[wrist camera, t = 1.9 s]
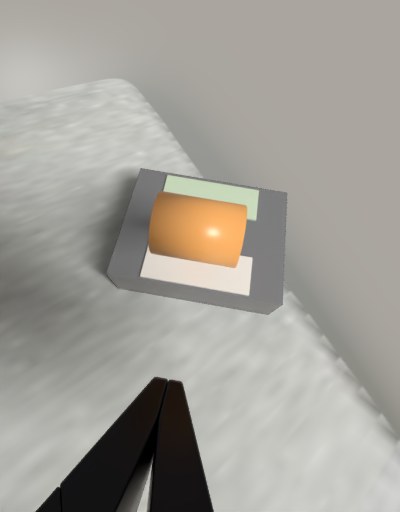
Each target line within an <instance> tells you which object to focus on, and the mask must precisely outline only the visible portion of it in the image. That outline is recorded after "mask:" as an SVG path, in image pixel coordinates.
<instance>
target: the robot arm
mask: <svg viewBox="0 0 400 512" xmlns="http://www.w3.org/2000/svg"><path fill="white" fill-rule="evenodd" d="M152 460H153V462H152ZM151 465H152V470H151V478H150V487H149V496H148V505H147V512H214V510H213V506H212V502H211V498H210V494H209V490H208V486H207V482H206V477H205V473H204V469H203V465H202V461H201V457H200V453H199V449H198V444H197V440H196V436H195V432H194V428H193V424H192V420H191V416H190V411H189V407H188V403H187V399H186V395H185V391H184V387H183V383H182V382H181V381H176V380H169V381H168V380H167V379H165V378H160V377H154V378H153V379H152V380H151V381H150V382H149V384H148V385H147V386H146V387H145V388H144V389H143V390H142V392H141V393H140V394H139V395H138V396H137V397H136V398H135V400H134V401H133V402H132V403H131V404H130V405H129V406H128V407H127V409H126V410H125V411H124V412H123V413H122V414H121V415H120V417H119V418H118V419H117V420H116V421H115V422H114V423H113V425H112V426H111V427H110V428H109V429H108V430H107V431H106V432H105V434H104V435H103V436H102V437H101V438H100V439H99V440H98V442H97V443H96V444H95V445H94V446H93V447H92V448H91V450H90V451H89V452H88V453H87V454H86V455H85V456H84V457H83V459H82V460H81V461H80V462H79V463H78V464H77V465H76V467H75V468H74V469H73V470H72V471H71V472H70V473H69V475H68V476H67V477H66V478H65V479H64V480H63V481H62V483H61V484H60V487H57V488H56V489H55V490H54V491H53V493H52V494H51V495H50V496H49V497H48V498H47V499H46V500H45V502H44V503H43V504H42V505H41V506H40V507H39V508H38V509H37V510H36V512H137V509H138V506H139V503H140V500H141V497H142V493H143V490H144V487H145V484H146V481H147V478H148V475H149V471H150V468H151Z"/></svg>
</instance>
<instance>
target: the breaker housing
mask: <svg viewBox="0 0 400 512" xmlns="http://www.w3.org/2000/svg"><path fill="white" fill-rule="evenodd" d="M160 191H165V192H171V193H177V194H182V195H188V196H194V197H200V198H206V199H212V200H218V201H224V202H230V203H236V204H242V205H247V221H246V229H245V235H244V240H243V245H242V250H241V254H240V257H239V261H238V264H237V266H236V268H230V267H225V266H219V265H213V264H207V263H202V262H196V261H190V260H184V259H179V258H173V257H167V256H161V255H156V254H151V253H150V251H149V226H150V219H151V214H152V210H153V206H154V202H155V199H156V197H157V195H158V193H159V192H160ZM286 210H287V193H286V192H280V191H274V190H268V189H262V188H256V187H250V186H244V185H238V184H232V183H226V182H219V181H214V180H207V179H202V178H196V177H190V176H184V175H178V174H172V173H166V172H160V171H154V170H148V169H142V168H141V169H140V172H139V175H138V178H137V181H136V184H135V187H134V190H133V194H132V197H131V200H130V203H129V206H128V209H127V212H126V215H125V218H124V221H123V224H122V227H121V230H120V233H119V236H118V239H117V242H116V245H115V248H114V251H113V254H112V257H111V260H110V264H109V267H108V270H107V273H106V274H107V275H108V277H109V278H110V279H111V280H112V282H113V283H114V284H115V285H116V287H117V288H119V289H125V290H131V291H136V292H142V293H148V294H153V295H159V296H165V297H170V298H176V299H181V300H187V301H193V302H198V303H204V304H210V305H215V306H221V307H227V308H232V309H238V310H244V311H249V312H255V313H261V314H266V315H268V314H270V313H271V312H273V311H274V310H276V309H277V308H279V307H280V306H281V305H283V281H284V258H285V257H284V256H285V235H286V234H285V233H286Z"/></svg>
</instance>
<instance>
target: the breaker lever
mask: <svg viewBox="0 0 400 512" xmlns="http://www.w3.org/2000/svg"><path fill="white" fill-rule="evenodd" d="M246 221H247V205H242V204H236V203H230V202H224V201H218V200H212V199H206V198H200V197H194V196H188V195H182V194H177V193H171V192H165V191H160V192H159V193H158V195H157V197H156V199H155V202H154V206H153V210H152V214H151V219H150V226H149V251H150V253H151V254H156V255H161V256H167V257H173V258H179V259H184V260H190V261H196V262H202V263H207V264H213V265H219V266H225V267H230V268H236V266H237V264H238V261H239V257H240V254H241V250H242V245H243V240H244V235H245V229H246Z"/></svg>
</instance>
